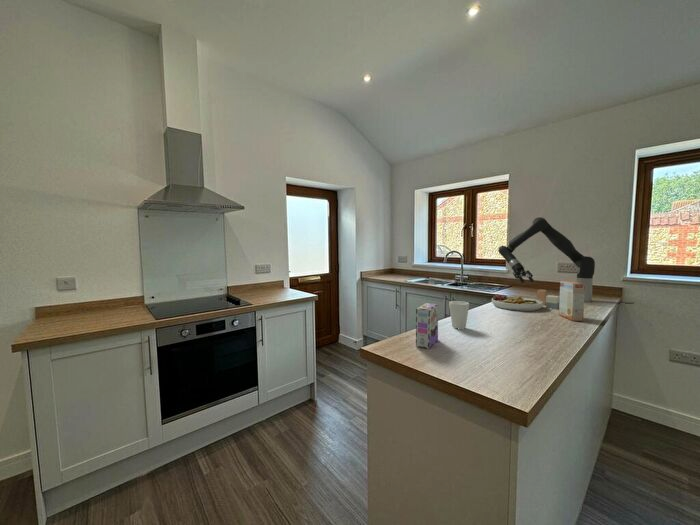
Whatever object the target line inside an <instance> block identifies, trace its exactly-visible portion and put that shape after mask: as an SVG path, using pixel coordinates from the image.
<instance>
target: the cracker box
mask: <svg viewBox="0 0 700 525" xmlns="http://www.w3.org/2000/svg"><path fill="white" fill-rule="evenodd" d="M584 290H585V284H582V283H578V282H577V281H572V280H560V282H559V302H560V304H559V309H558V310H559V311H558V315H559V316H560V317H563V318H565V319H567V320H570V321H572V322H584V312H585V310H584V307H585V302H584Z"/></svg>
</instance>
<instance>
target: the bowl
mask: <svg viewBox="0 0 700 525" xmlns="http://www.w3.org/2000/svg"><path fill="white" fill-rule="evenodd" d="M491 304H493V306H495V307H496V308H499V309H502V308H503V309H502V310H507V309H508V311H515V310H517V312H534V311H538V310H540V309H541V308H542V307H543V306H544V305H543V302H542V301H540V300H537V298H535V299H534V298H529V297H521V295H519V296H506V295H505V294H500V293H499V294H498V293H497V294H494V295H493V297H492V298H491Z"/></svg>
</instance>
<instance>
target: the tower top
mask: <svg viewBox="0 0 700 525" xmlns="http://www.w3.org/2000/svg"><path fill="white" fill-rule="evenodd" d="M546 302H548V303H556V304H557V303H559V302H560V295H552V294H551V295H550V294H549V295H548V294H547V296H546Z"/></svg>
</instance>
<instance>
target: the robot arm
mask: <svg viewBox="0 0 700 525" xmlns="http://www.w3.org/2000/svg"><path fill="white" fill-rule="evenodd" d="M540 232H541V233H542V234H543V235H544V236H545V237H546V238H547V239H548V240H549V241H550V242H551V244H552V246H555V248H557V250H558V251H560V252H561V253H563V254H564V255H565V256H566V257H568V258H569V260H570V261H571V262H573V264H574V265H575V266H576V267H577V268H579V272H578V273H577V274H576V282H578V283H582V284H585V290H584V303H590V302H593V279H594V278H593V277H594V275H595V269H596V268H595V267H596V262H595V259H594V258H593V257H592V256H585V255H583V254H582V253H580V252H579V251H578V250H577V249H576V247H575V246H574V244H573V242H572V241H571V240H570V239H568V237H567V236H565V235H564V234H562V233H561V232H560V231H558V230H556V229H555V227H553V226H552V225H551V224H550V223H549V222H548V221H547V219H545V217H536V218H534V219H533V221H532V225H530V226H529V227H528V229H527V228H526V230H524V231H522V232H521V233H520V234H517V235H516V236H515V237H513V238H512V239H511V240H510V241H509V242H508V245H507V246H506V245H500V246H499V247H498V250H497V251H498V253H499V255H501V256H502V257H503V259H505V261H506V263H507V264H508V266H509V267H510V268H511V270H512V271H513V272H512V275H513V276H514V278H515V279H517V280H519V281H520V283H522V284H524V283H525V281H526V280H525V279H524V278H527V279H528V280H529V282H531V283H534V282H535V280H534V278H533V277H534V274H532V273H531V271H530V270H525V267H524V265H523V264H522V262H520V260H519V259H518V258H517V257H516V256H515V254H513V252H514V251H516V249H517V248H518V247H519V246H520V245H522V244H524V243H525V242H526V241H527V240H529V239H530V238H531V237H533V236H535V235H536V234H538V233H540ZM523 277H524V278H523Z"/></svg>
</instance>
